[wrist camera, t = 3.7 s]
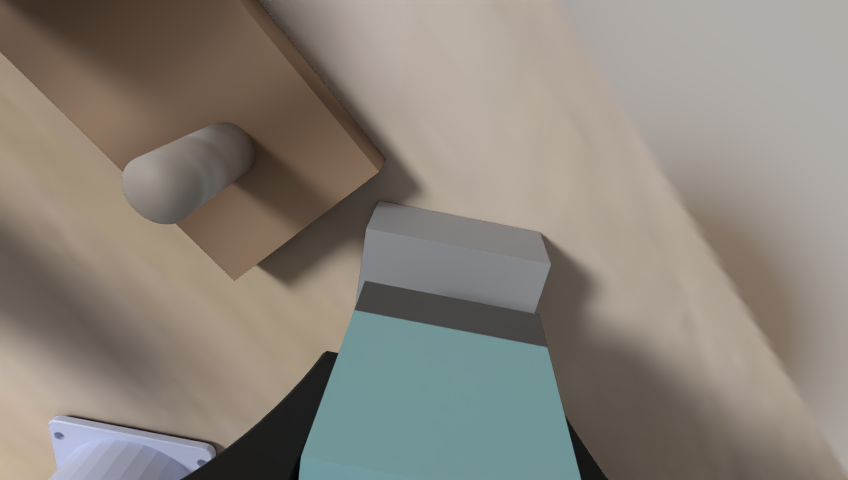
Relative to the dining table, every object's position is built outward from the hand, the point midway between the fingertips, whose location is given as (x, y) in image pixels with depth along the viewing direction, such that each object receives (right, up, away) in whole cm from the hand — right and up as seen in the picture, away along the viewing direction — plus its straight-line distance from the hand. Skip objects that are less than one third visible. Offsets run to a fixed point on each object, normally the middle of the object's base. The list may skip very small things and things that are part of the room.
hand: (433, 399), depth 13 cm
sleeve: (0, +1, +1) cm, 1 cm away
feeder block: (0, +3, +6) cm, 6 cm away
